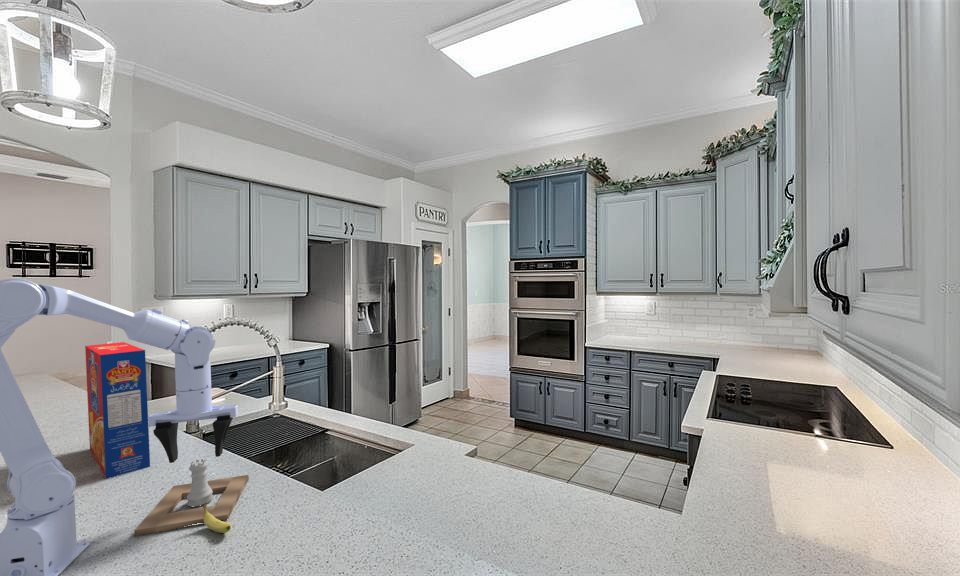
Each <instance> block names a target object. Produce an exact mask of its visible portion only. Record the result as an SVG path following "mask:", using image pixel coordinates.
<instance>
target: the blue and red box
mask: <svg viewBox="0 0 960 576" xmlns="http://www.w3.org/2000/svg"><path fill="white" fill-rule="evenodd" d="M84 348H85V349H84V350H85V353H84V354H85V370H86V392H87V394H86V395H87V412H88V413H87V414H88V416H87V417H88V435H89V439H88V440H89V450H91V451H90V453H91V455H92V456H93V458H94V457H95V458H94V460H95V459H96V460H95V461H97V462H96V463H97V466H98V467H99V469H100V471H101V472H102V474H103V477H104V479H106V480H107V479H111V478H114V476H115V477H118V476H121V474H122V475H125V474H129V473H133V472H135V471H139V470H143V469H146V468H150V467H151V458H150V457H151V454H150V434H149V433H150V431H149V422H148V417H149V410H148V407H149V405H148V393H147V392H148V391H147V390H148V389H147V387H148V386H147V365H146V363H147V362H146V350H145V349H143V348H141V347H138V346H136V345H134V344H133V345H132V344H130V343H128V342H125V341H120V342H110V343H109V342H108V343H99V344H92V345H85V347H84ZM117 475H118V476H117ZM110 477H111V478H110Z"/></svg>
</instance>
